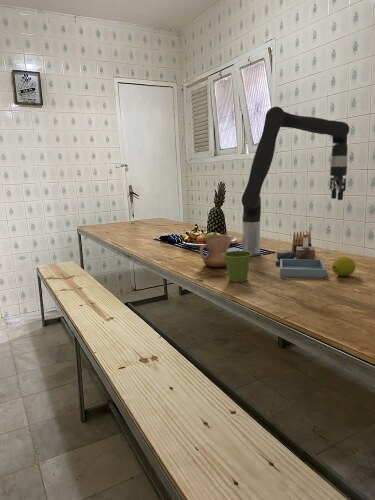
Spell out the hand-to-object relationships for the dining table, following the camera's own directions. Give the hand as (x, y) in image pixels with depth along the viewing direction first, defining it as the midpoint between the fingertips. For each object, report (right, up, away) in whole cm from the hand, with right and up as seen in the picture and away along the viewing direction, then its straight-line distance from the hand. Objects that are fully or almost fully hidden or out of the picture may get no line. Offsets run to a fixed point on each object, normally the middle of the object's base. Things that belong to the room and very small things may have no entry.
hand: (336, 199), depth 189 cm
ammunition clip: (-14, -27, +12) cm, 33 cm away
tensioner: (-22, -31, -6) cm, 39 cm away
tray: (-24, -34, -23) cm, 48 cm away
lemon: (-10, -36, -31) cm, 49 cm away
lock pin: (-18, -29, -8) cm, 35 cm away
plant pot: (-53, -38, -31) cm, 72 cm away
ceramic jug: (-59, -33, -7) cm, 68 cm away
